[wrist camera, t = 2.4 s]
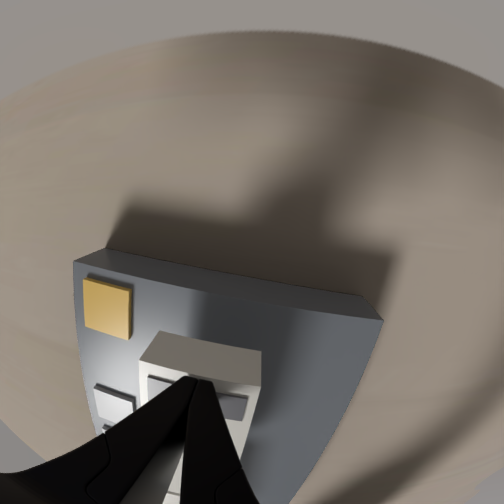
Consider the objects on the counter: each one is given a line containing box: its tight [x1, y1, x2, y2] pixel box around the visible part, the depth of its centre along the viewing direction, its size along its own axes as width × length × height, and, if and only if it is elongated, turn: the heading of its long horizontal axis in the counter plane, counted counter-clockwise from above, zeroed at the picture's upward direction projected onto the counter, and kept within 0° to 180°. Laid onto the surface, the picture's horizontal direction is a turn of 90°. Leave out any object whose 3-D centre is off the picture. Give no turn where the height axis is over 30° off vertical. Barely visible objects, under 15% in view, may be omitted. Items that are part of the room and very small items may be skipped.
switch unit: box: [73, 248, 384, 504], centre depth 14 cm, size 20×14×4 cm
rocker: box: [139, 330, 261, 494], centre depth 9 cm, size 8×4×2 cm, turn 170°
